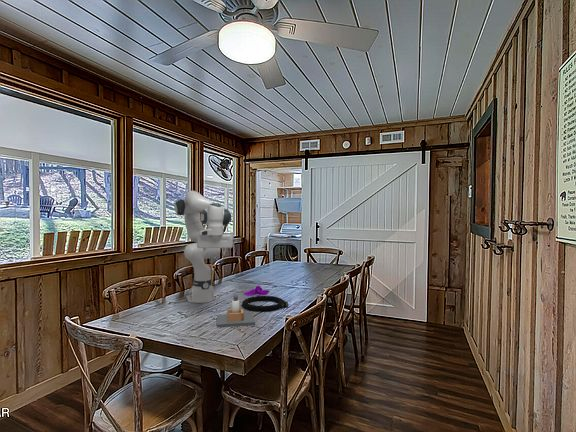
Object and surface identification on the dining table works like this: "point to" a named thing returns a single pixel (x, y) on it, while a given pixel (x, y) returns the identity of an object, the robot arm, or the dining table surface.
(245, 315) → the holder
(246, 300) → the cable lock
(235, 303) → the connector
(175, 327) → the dining table surface
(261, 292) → the cloth
